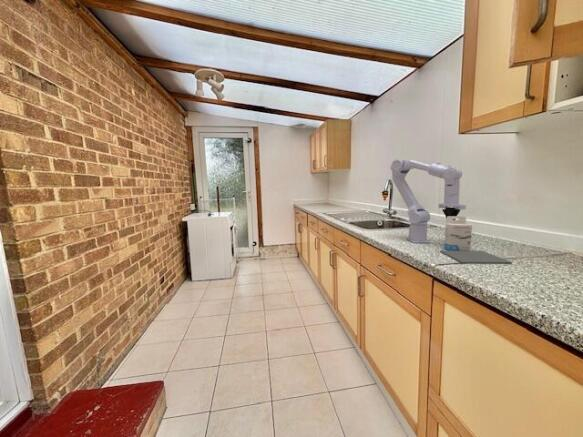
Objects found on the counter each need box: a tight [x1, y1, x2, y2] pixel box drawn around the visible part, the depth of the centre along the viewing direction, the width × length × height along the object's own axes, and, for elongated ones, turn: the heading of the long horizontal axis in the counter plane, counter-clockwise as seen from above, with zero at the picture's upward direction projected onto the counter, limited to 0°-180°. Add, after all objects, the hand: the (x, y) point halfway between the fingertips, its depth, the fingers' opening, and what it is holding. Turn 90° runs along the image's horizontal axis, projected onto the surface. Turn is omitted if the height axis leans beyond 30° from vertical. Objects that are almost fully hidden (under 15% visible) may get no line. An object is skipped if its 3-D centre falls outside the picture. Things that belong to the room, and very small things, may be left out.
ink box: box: [443, 215, 473, 251], centre depth 109 cm, size 9×5×15 cm, turn 84°
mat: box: [439, 250, 513, 265], centre depth 99 cm, size 16×17×1 cm
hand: (450, 224), depth 116 cm, fingers closed
